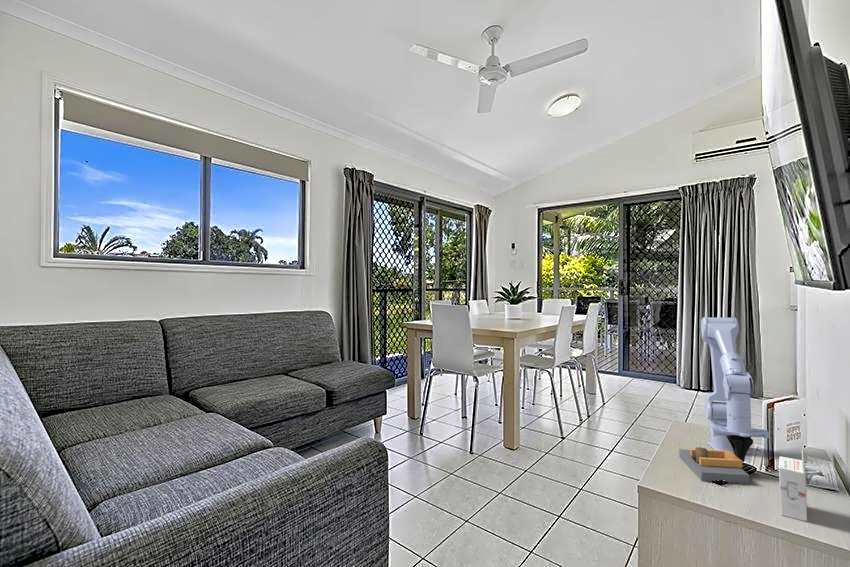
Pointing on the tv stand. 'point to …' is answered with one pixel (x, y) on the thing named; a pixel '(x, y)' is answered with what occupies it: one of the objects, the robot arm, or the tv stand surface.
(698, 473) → the housing
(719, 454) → the cap
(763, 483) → the tv stand surface
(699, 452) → the peg
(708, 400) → the robot arm
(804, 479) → the ink cartridge box
